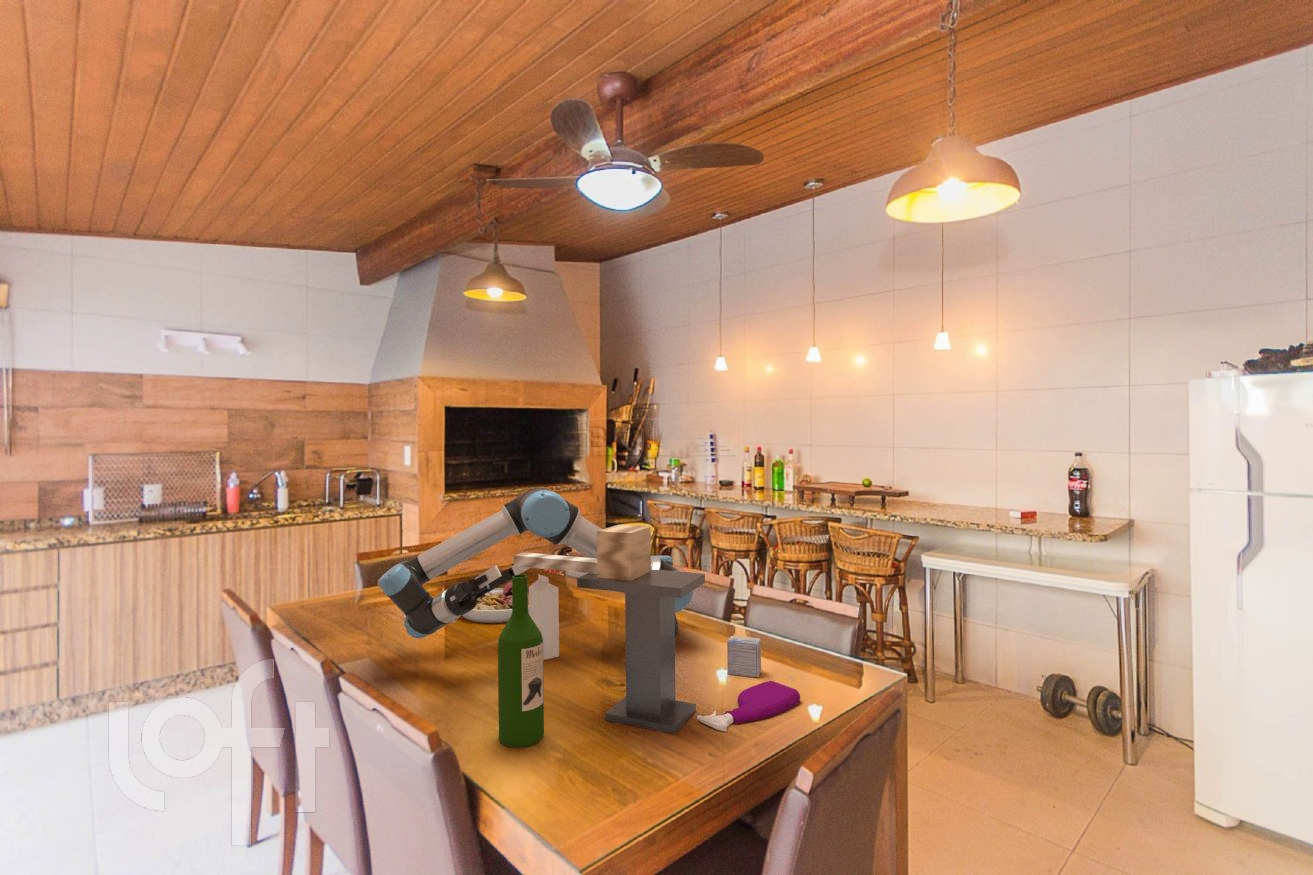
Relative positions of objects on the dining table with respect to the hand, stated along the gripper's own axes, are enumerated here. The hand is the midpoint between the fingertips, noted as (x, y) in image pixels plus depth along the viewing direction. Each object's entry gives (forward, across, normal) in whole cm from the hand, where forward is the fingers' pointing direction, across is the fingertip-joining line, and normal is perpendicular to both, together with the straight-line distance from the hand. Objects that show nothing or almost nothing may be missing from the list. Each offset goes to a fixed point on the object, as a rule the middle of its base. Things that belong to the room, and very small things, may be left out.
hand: (516, 564), depth 154 cm
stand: (+13, 0, -42) cm, 44 cm away
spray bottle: (+31, -11, -53) cm, 63 cm away
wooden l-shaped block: (+14, 0, -8) cm, 17 cm away
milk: (-22, -23, -22) cm, 38 cm away
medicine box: (+25, -32, -49) cm, 64 cm away
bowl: (-54, -54, -4) cm, 76 cm away
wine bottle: (-2, +19, -34) cm, 39 cm away
